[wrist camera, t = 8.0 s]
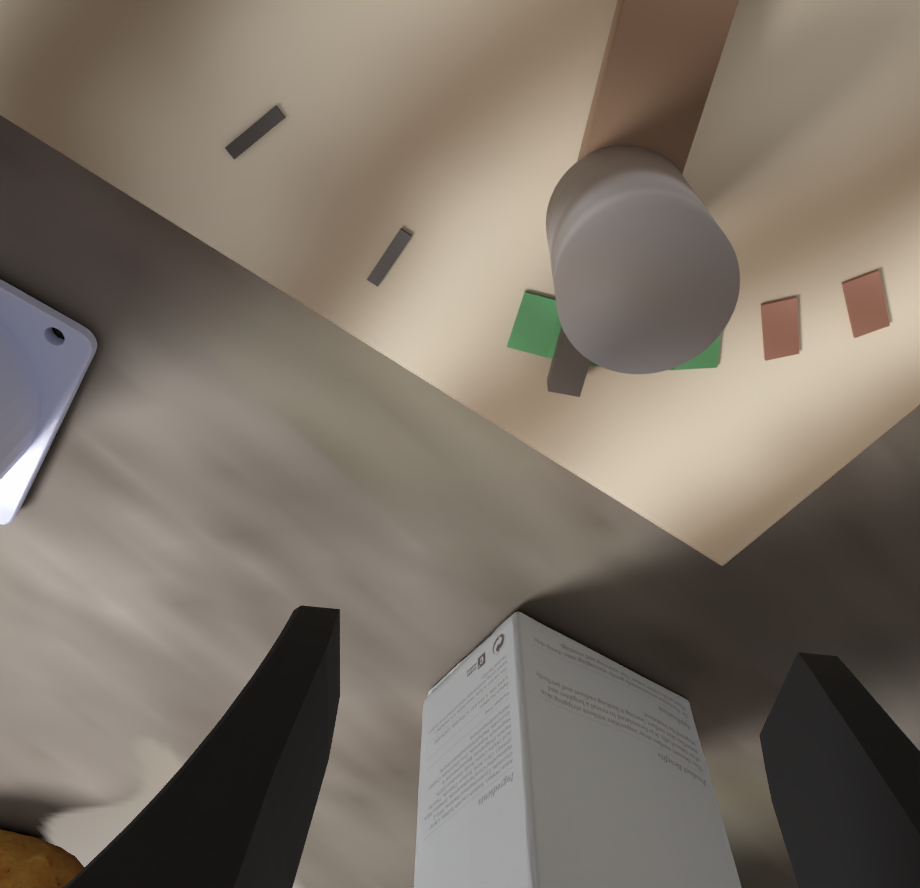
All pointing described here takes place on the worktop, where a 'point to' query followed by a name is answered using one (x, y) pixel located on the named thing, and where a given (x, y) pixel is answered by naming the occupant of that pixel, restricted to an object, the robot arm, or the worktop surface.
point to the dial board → (528, 210)
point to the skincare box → (562, 774)
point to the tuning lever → (641, 204)
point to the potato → (34, 863)
